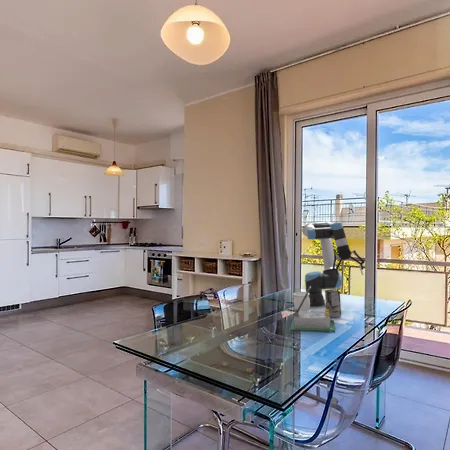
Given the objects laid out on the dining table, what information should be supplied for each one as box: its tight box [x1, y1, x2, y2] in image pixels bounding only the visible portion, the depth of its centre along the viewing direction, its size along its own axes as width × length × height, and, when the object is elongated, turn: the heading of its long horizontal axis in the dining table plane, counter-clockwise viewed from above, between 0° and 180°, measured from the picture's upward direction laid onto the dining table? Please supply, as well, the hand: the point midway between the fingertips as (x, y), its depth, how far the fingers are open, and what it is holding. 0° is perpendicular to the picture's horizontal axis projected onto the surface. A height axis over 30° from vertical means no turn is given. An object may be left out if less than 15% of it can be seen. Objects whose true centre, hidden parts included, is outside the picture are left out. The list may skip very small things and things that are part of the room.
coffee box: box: [324, 289, 342, 318], centre depth 228 cm, size 9×6×16 cm
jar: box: [292, 291, 311, 313], centre depth 230 cm, size 11×10×15 cm
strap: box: [296, 286, 311, 312], centre depth 209 cm, size 18×5×1 cm
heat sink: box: [289, 308, 336, 333], centre depth 208 cm, size 25×20×9 cm
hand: (351, 277), depth 224 cm, fingers open, 13 cm apart
